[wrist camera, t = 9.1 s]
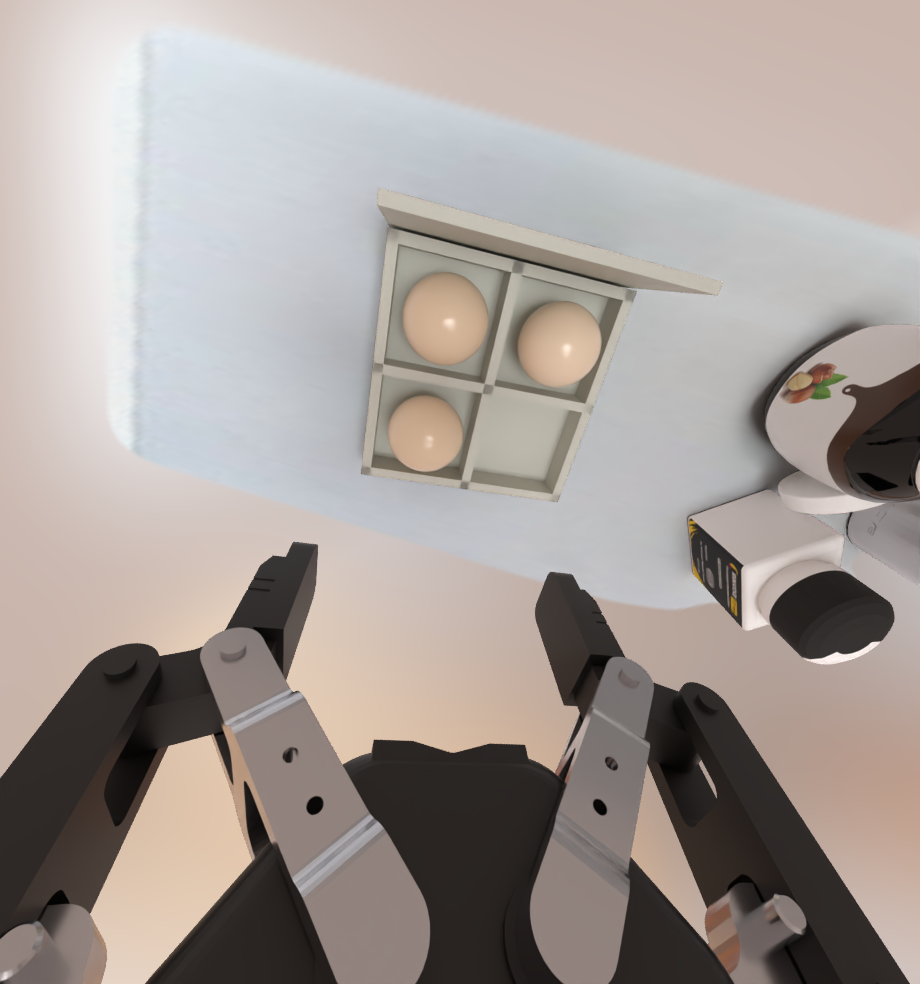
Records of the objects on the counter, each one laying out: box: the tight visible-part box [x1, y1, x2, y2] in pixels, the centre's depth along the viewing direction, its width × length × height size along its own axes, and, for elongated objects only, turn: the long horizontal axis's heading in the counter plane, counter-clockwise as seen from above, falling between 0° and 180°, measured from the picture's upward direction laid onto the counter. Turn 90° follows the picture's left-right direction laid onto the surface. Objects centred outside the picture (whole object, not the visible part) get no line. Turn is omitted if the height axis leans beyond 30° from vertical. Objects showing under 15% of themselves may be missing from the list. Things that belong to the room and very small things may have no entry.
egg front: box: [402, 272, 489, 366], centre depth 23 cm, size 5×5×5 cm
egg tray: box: [361, 188, 724, 502], centre depth 23 cm, size 14×15×10 cm
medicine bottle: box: [688, 489, 894, 664], centre depth 31 cm, size 7×7×12 cm
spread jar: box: [764, 324, 920, 514], centre depth 26 cm, size 12×11×12 cm
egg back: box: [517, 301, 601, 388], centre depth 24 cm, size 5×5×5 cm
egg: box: [388, 395, 463, 472], centre depth 26 cm, size 5×5×5 cm
